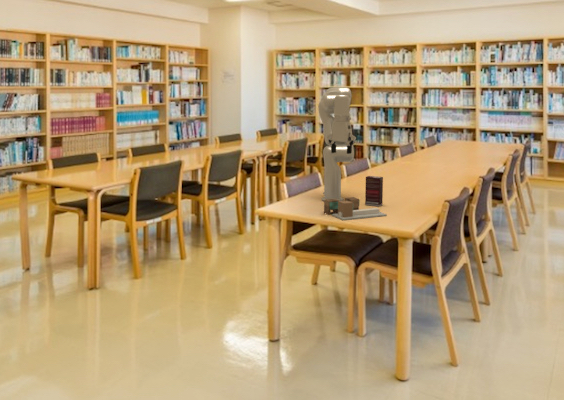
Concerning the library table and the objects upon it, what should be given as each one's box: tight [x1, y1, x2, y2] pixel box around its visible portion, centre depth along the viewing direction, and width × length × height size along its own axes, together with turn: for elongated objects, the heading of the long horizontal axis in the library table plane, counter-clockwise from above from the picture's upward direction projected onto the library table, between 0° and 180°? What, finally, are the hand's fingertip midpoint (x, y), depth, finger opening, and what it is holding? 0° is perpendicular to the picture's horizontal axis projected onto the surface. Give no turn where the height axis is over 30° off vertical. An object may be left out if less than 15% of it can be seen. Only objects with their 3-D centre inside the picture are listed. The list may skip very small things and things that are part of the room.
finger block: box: [323, 199, 339, 216], centre depth 301 cm, size 6×6×7 cm
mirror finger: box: [344, 196, 361, 210], centre depth 306 cm, size 6×6×7 cm
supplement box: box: [364, 175, 384, 207], centre depth 320 cm, size 9×5×16 cm, turn 59°
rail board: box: [331, 200, 388, 221], centre depth 295 cm, size 12×25×8 cm, turn 113°
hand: (341, 153), depth 300 cm, fingers open, 9 cm apart
